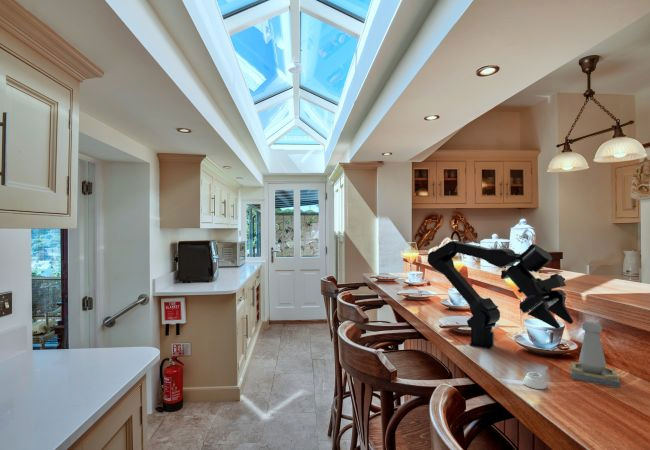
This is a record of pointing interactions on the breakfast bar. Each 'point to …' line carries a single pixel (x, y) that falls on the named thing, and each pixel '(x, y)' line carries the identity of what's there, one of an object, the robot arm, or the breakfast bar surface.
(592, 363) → the salt shaker
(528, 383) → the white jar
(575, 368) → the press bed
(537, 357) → the breakfast bar surface
